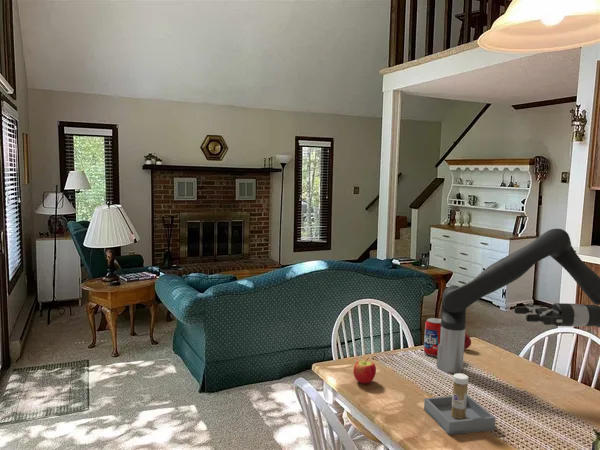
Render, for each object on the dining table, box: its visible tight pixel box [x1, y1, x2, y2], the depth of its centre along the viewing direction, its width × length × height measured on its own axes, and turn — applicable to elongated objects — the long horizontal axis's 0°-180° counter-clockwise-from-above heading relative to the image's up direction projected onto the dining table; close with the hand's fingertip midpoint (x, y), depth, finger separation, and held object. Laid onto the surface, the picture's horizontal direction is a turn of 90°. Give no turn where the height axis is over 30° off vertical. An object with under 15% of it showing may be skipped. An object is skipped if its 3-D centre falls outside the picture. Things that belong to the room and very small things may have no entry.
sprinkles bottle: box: [451, 372, 469, 419], centre depth 154 cm, size 5×5×13 cm
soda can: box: [423, 317, 441, 357], centre depth 209 cm, size 8×8×15 cm
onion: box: [464, 331, 472, 351], centre depth 215 cm, size 6×6×8 cm
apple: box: [353, 357, 377, 384], centre depth 180 cm, size 8×8×10 cm
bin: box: [423, 394, 496, 436], centre depth 154 cm, size 16×16×4 cm
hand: (520, 313), depth 161 cm, fingers open, 8 cm apart
